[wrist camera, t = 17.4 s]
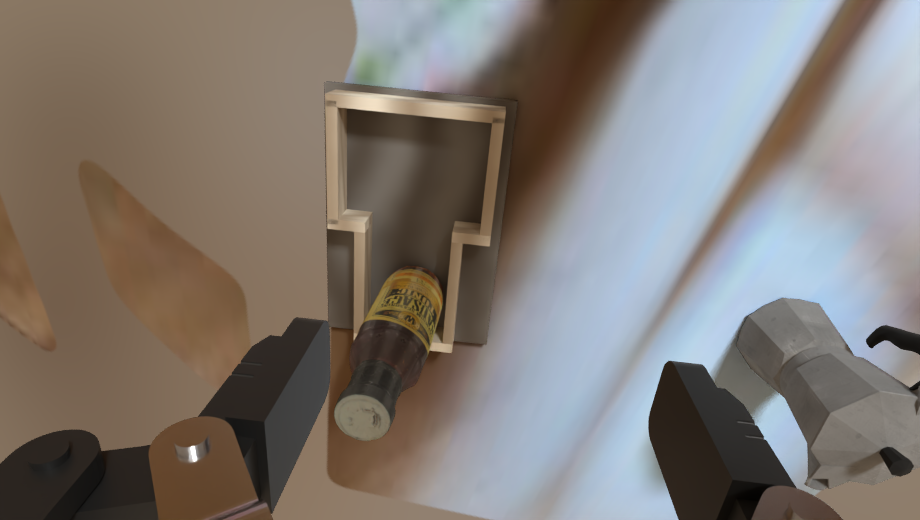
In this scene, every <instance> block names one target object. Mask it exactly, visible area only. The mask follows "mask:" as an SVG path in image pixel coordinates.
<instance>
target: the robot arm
mask: <svg viewBox="0 0 920 520" xmlns="http://www.w3.org/2000/svg"><path fill="white" fill-rule="evenodd" d="M329 383H330V331H329V323H328V322H327V321H324V320H315V319H306V318H298V317H296V318H295V319H294V320H293V321H292V322H291V324H290V325H289V327H288V328H287V329H286V331H285V332H284V334H283V335H282V336H281V337H280V336H272V335H270V336H268V337H267V338H265V339H264V340H262V341H260V342H259V343H257V344H255V345H254V346H252V347H251V349H250V350H249V351H248V353H247V354H246V355H245V356H244V358H243V359H242V360H241V364H238V366H237V367H236V368H235V369H234V371H233V372H232V375H231V376H229V377H228V378H227V380H226V381H225V382H224V384H223V385H222V386H221V388H220V389H219V390H218V391H217V393H216V394H215V395H214V397H213V398H212V399H211V401H210V402H209V403H208V404H207V406H206V407H205V408H204V410H203V411H202V412H201V413H200V415H199V416H198V417H194V418H189V419H186V420H183V421H180V422H178V423H175V424H173V425H171V426H170V427H168V428H166V429H165V430H164V431H162V432H161V433H160V434H159V435H158V436H157V437H156V438H155V439H154V440H153V442H152V444H151V445H147V446H141V447H133V448H125V449H117V450H109V451H101V448H100V444H99V441H98V439H97V437H96V436H95V435H93V434H91V433H90V432H87V431H83V430H63V431H57V432H53V433H49V434H46V435H43V436H41V437H38V438H36V439H34V440H31V441H29V442H27V443H26V444H24V445H22V446H21V447H19V448H18V449H16V450H15V451H14V452H13V453H11V454H10V455H9V456H8V457H7V458H6V459H5V460H4V461H3V462H2V463H1V464H0V520H273V518H272V516H271V514H272V513H273V511H274V508H275V506H276V504H277V502H278V500H279V498H280V496H281V493H282V491H283V489H284V487H285V485H286V483H287V481H288V478H289V476H290V474H291V472H292V470H293V468H294V466H295V464H296V461H297V459H298V457H299V455H300V453H301V451H302V448H303V446H304V444H305V442H306V440H307V438H308V436H309V434H310V431H311V429H312V427H313V425H314V423H315V421H316V419H317V416H318V414H319V412H320V410H321V408H322V406H323V404H324V402H325V399H326V396H327V393H328V388H329ZM649 437H650V441H651V444H652V446H653V449H654V452H655V455H656V458H657V460H658V463H659V466H660V469H661V472H662V474H663V477H664V480H665V483H666V486H667V488H668V491H669V494H670V497H671V500H672V502H673V505H674V508H675V511H676V514H677V516H678V519H679V520H843V519H842V518H841V517H840V515H839V514H838V513H837V512H836V511H835V510H834V509H832V508H831V507H830V506H829V505H827V504H826V503H825V502H823V501H822V500H821V499H819V498H817V497H815V496H814V495H812V494H810V493H808V492H805V491H803V490H800V489H797V488H796V486H795V485H794V483H793V482H792V480H791V478H790V477H789V475H788V474H787V472H786V471H785V469H784V467H783V466H782V464H781V463H780V461H779V460H778V458H777V456H776V455H775V453H774V452H773V450H772V449H771V447H770V445H769V444H768V442H767V441H766V440H764V436H763V434H762V433H761V431H760V430H759V428H758V426H756V425H755V422H754V420H753V419H752V417H751V415H750V414H749V412H748V411H747V409H746V408H745V406H744V405H743V404H742V403H741V402H740V401H739V400H738V399H736V398H735V397H734V396H733V395H732V394H731V393H729V392H728V391H727V390H726V389H722V388H717V387H716V385H715V383H714V382H713V380H712V378H711V377H710V375H709V373H708V372H707V370H706V368H705V367H704V366H703V365H701V364H692V363H684V362H675V361H668V362H667V363H666V364H665V366H664V368H663V371H662V374H661V377H660V381H659V384H658V387H657V391H656V394H655V397H654V401H653V404H652V407H651V411H650V415H649Z"/></svg>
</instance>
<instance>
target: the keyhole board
mask: <svg viewBox="0 0 920 520" xmlns="http://www.w3.org/2000/svg"><path fill="white" fill-rule="evenodd" d="M324 95H325V96H324V97H325V153H326V154H325V155H326V156H325V157H326V209H327V210H326V214H327V267H328V268H327V269H328V323H329V327H337V328H346V329H354V340H355V338H356V336H357V335H358V331H359V329H360V327H361V325H362V323H363V321H364V320H365V318H366V316H367V314H368V312H369V310H370V309H371V307H372V305H373V303H374V301H375V300H376V298H377V296H378V294H379V292H380V290H381V288H382V286H383V285H384V283H385V281H386V280H387V279H388V278H389V276H390V275H392V274H393V273H394V272H396V271H397V270H399V269H401V268H403V267H406V266H417V267H422V268H425V269H428V270H430V271H431V272H432V273H434V274H435V276H436V277H437V278H438V280H439V281H440V283H441V285H442V287H443V306H442V309H441V313H440V316H439V320H438V323H437V326H436V330H435V333H434V337H433V340H432V344H431V347H430V351H439V352H448V353H452V347H453V341H459V342H468V343H477V344H485V345H486V344H487V336H488V329H489V321H490V313H491V305H492V298H493V290H494V282H495V275H496V267H497V259H498V251H499V244H500V236H501V228H502V220H503V213H504V205H505V197H506V189H507V182H508V174H509V166H510V158H511V151H512V143H513V135H514V128H515V120H516V112H517V104H518V101H517V100H507V99H497V98H488V97H478V96H468V95H458V94H448V93H438V92H428V91H418V90H409V89H399V88H389V87H379V86H369V85H359V84H349V83H339V82H329V81H327V82H325V83H324Z"/></svg>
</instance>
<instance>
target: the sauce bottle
mask: <svg viewBox="0 0 920 520" xmlns="http://www.w3.org/2000/svg"><path fill="white" fill-rule="evenodd" d="M442 306H443V287H442V285H441V283H440V281H439V280H438V278H437V277H436V276H435V274H434V273H432V272H431V271H430V270H428V269H425V268H422V267H417V266H406V267H403V268H401V269H399V270H397V271H396V272H394V273H393V274H392V275H390V276H389V278H388V279H387V280H386V281H385V283H384V285H383V286H382V288H381V290H380V292H379V294H378V296H377V298H376V300H375V301H374V303H373V305H372V307H371V309H370V310H369V312H368V314H367V316H366V318H365V320H364V321H363V323H362V325H361V327H360V329H359V331H358V335H357V336H356V338H355V340H354V342H353V343H352V345H351V350H350V358H349V361H350V368H351V372H352V377H351V381H350V382H349V385H348V387H347V388H346V389H345V390H344V391H343V392H342V393H341V395H340V397H339V399H338V401H337V404H336V406H335V410H334V417H335V421H336V424H337V425H338V427H339V428H340V429H341V430H342V431H343V432H344V433H345V434H346V435H348V436H350V437H352V438H355V439H357V440H361V441H370V440H375V439H379V438H381V437H382V436H384V435H385V434H386V432H387V431H388V430H389V428H390V426H391V424H392V422H393V419H394V417H395V404H396V401H397V398H398V396H399V395H400V393H401V392H403V391H404V390H406V389H408V388H410V387H412V386H414V385H415V384H416V382H417V381H418V378H419V376H420V373H421V370H422V368H423V365H424V363H425V361H426V359H427V357H428V354H429V350H430V347H431V344H432V340H433V337H434V333H435V330H436V326H437V323H438V320H439V316H440V313H441V309H442Z"/></svg>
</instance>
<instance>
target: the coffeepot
mask: <svg viewBox="0 0 920 520" xmlns="http://www.w3.org/2000/svg"><path fill="white" fill-rule="evenodd" d="M884 340H887V341H890V342H891V343H893V344H894V345H895V346H897V347H899V348H900V349H903V350H909V351H913V352H916V353H918V354H919V355H920V335H919V334H915V333H911V332H908V331H905V330H901V329H898V328H894V327H891V326H887V325H885V326H880V327H879V328H877V329H876V330H875V331H874V332H873V333H872V334H871V335H870V336H869V337H868V338H867V339H866V343H867V344H868V346H869V347H870V348H873V347H874V346H875V345H877V344H878V343H880V342H882V341H884ZM736 346H737V347H738V349H739V351H740V352H741V354H742V355H743V357H744V358H745V360H746V361H747V363H748V365H749V366H750V368H751V369H752V370H753V371H754V372H756V373H757V374H758V375H759V376H760V377H761V378H762V379H764V380H765V381H766V382H767V383H768V384H769V385H770V386H772V387H773V388H774V389H775V390H776V391H777V392H778V393H780V394H781V395H782V396H783V397H784V398H785V399H786V401H787V403H788V405H789V407H790V409H791V411H792V413H793V415H794V417H795V419H796V421H797V423H798V425H799V427H800V429H801V431H802V433H803V435H804V437H805V439H806V441H807V448H808V477H807V480H806V482H805V485H806V486H808V487H810V488H813V489H816V490H824V489H826V488H829V489H831V488H833V487H836V486H838V485H841V484H844V483H846V482H849V481H852V482H858V483H864V484H871V485H875V484H877V483H880V482H883V481H885V480H888V479H890V478H893V477H896V476H903V475H906V474H908V473H910V472H911V470H914V469H916V468H919V467H920V381H919V382H918V383H916V384H915V385H913V386H912V387H910V388H909V387H908V386H906V385H905V384H903V383H902V382H900V381H898V380H897V379H895V378H894V377H892V376H891V375H889V374H888V373H886V372H884V371H883V370H881V369H880V368H878V367H877V366H875V365H874V364H872V363H870V362H869V361H867V360H866V359H864V358H861V357H856V356H854V355H853V353H852V351H851V350H850V348H849V347H848V345H847V344H846V342H845V341H844V339H843V338H842V336H841V335H840V333H839V332H838V331H837V329H836V328H835V326H834V325H833V323H832V322H831V320H830V319H829V318H828V316H827V315H826V313H825V312H824V310H823V309H822V307H821V306H820V305H819V303H814V302H808V301H804V300H800V299H787V298H781V299H779V300H776V301H773V302H771V303H769V304H766V305H764V306H762V307H761V308H759V309H757V310H756V311H755V312H754V313H753V314H751V315H749V316H748V317H747V319H746V321H745V322H744V324H743V326H742V328H741V330H740V334H739V339H738V341H737V344H736Z"/></svg>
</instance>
